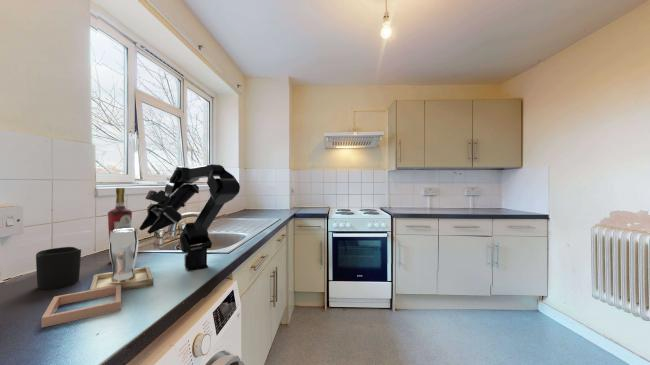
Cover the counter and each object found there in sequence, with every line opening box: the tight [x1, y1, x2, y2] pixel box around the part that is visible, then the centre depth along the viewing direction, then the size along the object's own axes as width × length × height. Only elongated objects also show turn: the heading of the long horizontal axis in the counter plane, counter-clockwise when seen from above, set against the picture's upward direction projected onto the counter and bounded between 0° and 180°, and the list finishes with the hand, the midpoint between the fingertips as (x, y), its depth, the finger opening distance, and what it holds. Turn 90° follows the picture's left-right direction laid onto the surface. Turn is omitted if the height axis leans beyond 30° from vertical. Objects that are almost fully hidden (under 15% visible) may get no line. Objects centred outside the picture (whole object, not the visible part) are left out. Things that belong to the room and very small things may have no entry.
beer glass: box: [108, 228, 139, 284], centre depth 80 cm, size 7×7×15 cm
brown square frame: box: [41, 285, 122, 329], centre depth 64 cm, size 13×13×2 cm
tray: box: [89, 266, 154, 292], centre depth 79 cm, size 14×14×2 cm
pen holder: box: [35, 246, 82, 291], centre depth 78 cm, size 9×9×10 cm
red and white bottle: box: [107, 187, 133, 264], centre depth 101 cm, size 7×7×28 cm
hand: (144, 231), depth 91 cm, fingers open, 9 cm apart
